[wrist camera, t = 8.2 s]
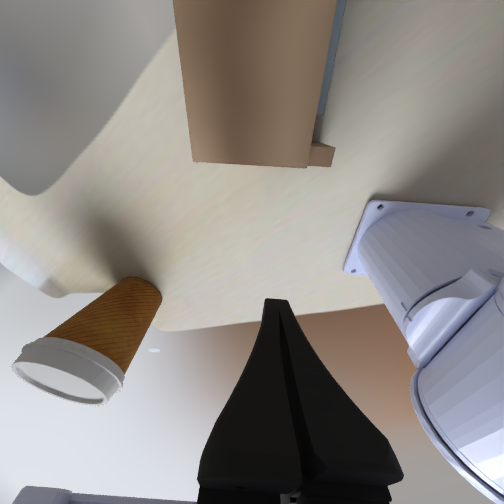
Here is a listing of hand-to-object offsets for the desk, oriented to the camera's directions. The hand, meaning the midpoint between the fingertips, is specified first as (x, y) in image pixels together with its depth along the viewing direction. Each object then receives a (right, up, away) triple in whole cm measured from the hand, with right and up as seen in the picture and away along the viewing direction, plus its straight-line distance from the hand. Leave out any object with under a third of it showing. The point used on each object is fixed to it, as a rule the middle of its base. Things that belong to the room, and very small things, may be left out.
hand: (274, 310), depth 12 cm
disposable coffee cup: (-18, -2, +16) cm, 24 cm away
